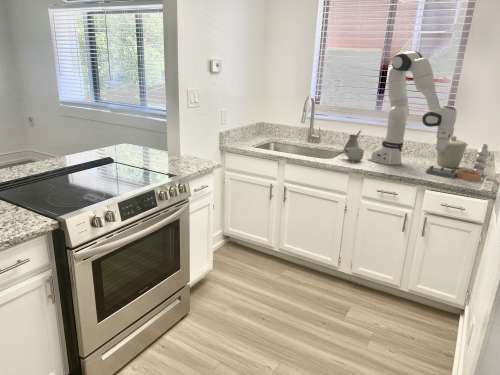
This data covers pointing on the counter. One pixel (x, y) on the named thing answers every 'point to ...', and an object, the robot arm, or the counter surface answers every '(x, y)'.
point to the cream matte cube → (447, 170)
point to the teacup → (354, 153)
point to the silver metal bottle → (481, 159)
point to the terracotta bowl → (469, 175)
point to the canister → (452, 153)
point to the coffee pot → (352, 142)
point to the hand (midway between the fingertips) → (441, 155)
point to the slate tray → (441, 172)
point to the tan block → (437, 168)
